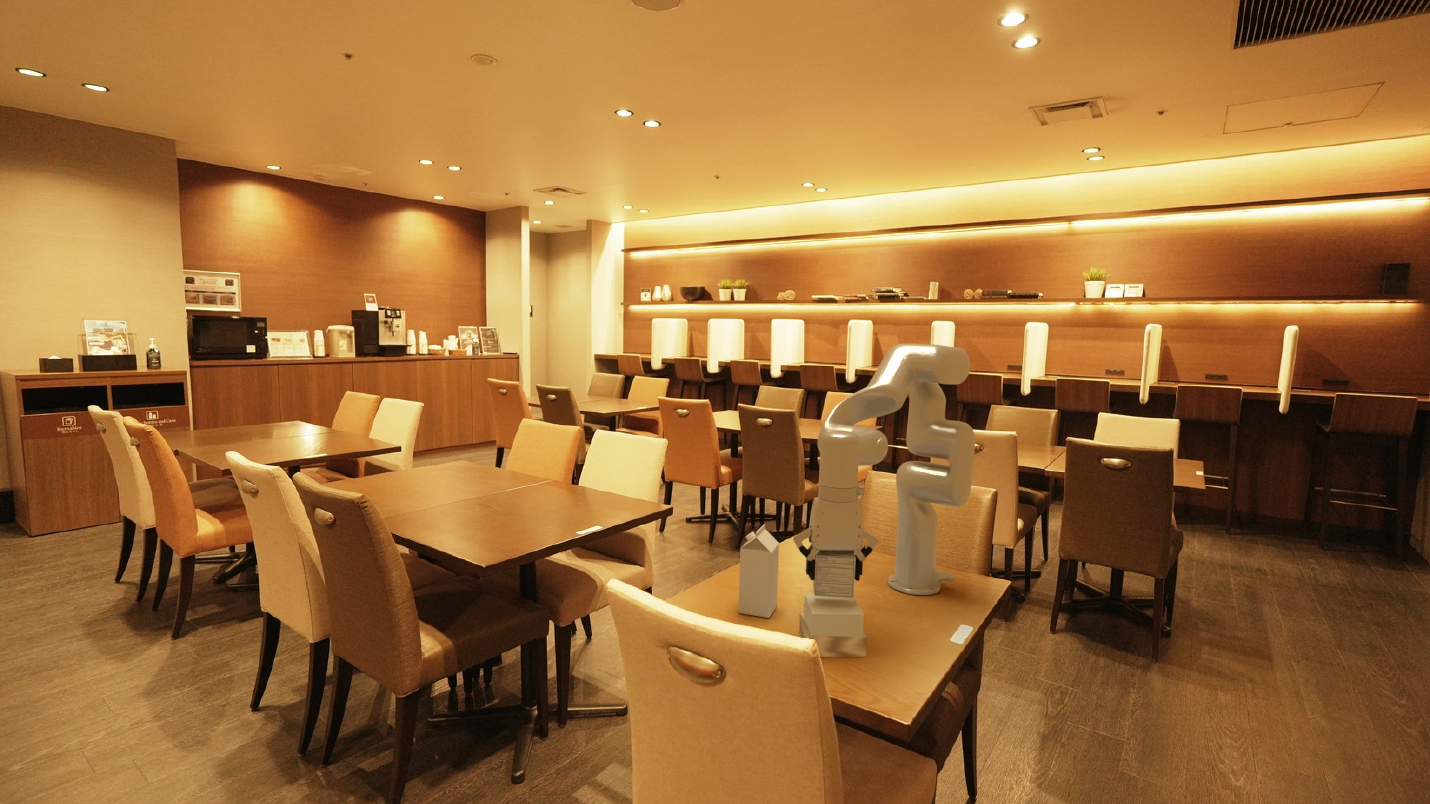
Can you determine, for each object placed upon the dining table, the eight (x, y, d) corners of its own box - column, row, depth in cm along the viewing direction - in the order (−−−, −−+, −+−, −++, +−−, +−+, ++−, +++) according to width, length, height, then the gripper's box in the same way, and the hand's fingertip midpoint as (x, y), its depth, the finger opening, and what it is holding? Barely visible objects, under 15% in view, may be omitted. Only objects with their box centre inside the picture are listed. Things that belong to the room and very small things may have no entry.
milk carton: (776, 606, 153) (780, 525, 151) (769, 619, 146) (772, 534, 144) (747, 601, 155) (749, 522, 153) (738, 613, 148) (740, 530, 146)
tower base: (850, 632, 141) (851, 612, 141) (865, 658, 130) (867, 636, 130) (799, 633, 141) (800, 612, 140) (810, 659, 130) (811, 637, 129)
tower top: (851, 614, 140) (852, 594, 139) (862, 636, 130) (863, 614, 129) (803, 614, 139) (804, 593, 139) (811, 636, 130) (812, 613, 129)
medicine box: (851, 590, 136) (853, 549, 135) (854, 599, 132) (856, 556, 131) (812, 588, 137) (814, 547, 136) (813, 596, 133) (815, 554, 132)
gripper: (875, 489, 136) (871, 571, 138) (790, 488, 135) (787, 571, 137) (886, 498, 129) (881, 585, 131) (797, 497, 128) (793, 585, 130)
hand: (833, 577), depth 134 cm, fingers closed on medicine box, 8 cm apart
